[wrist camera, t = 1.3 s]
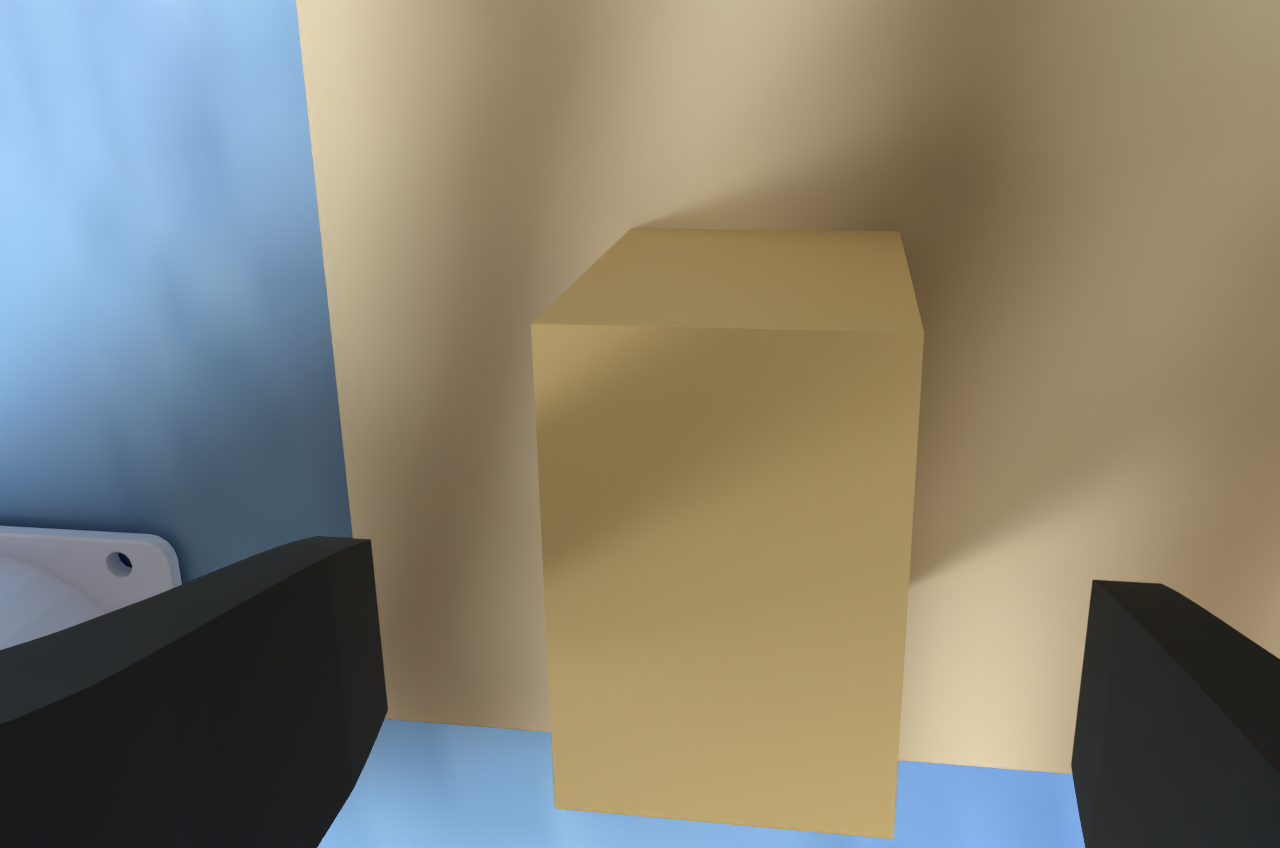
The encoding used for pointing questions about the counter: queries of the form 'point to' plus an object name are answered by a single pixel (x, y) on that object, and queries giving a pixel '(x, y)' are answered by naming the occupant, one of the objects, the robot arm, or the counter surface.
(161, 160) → the counter surface
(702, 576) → the carton
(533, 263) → the shelf board
